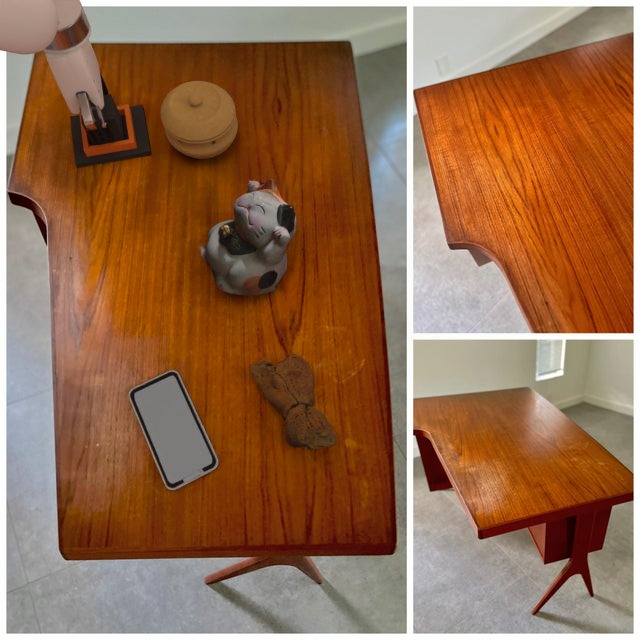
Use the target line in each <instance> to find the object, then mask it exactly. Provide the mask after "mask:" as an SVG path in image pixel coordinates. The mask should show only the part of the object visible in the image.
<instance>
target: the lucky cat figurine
mask: <svg viewBox="0 0 640 640" xmlns="http://www.w3.org/2000/svg"><path fill="white" fill-rule="evenodd" d="M232 208H233V216H234V218H233V219H228V220H224V221H221V222H218V223H216V224H215V225H214V226H213V227H211V229H210V230H209V231H208V233H207V243H206V245H205V246H204V245H200V246H199V250H200V256H201V258H202V260H204V262H206V263H207V264H208V266H209V268H210V270H211V274H212V276H213V280H214V284H215V286H216V287H217V288H218V289H220V290H221V291H222V292H225V293H228V294H230V295H237V296H261V295H265V294H268V293H272V292H274V291H277V289H278V287H279V283H280V281H281V279H282V278H283V277H284V275H285V274H286V271H287V270H288V253H287V248H288V245H289V243H290V242H291V240H292V239H293V238H294V236H295V234H296V231H297V215H296V211H295V206H294V205H290V204H288V203H287V202H286V201H284V199H283V198H282V196H281V193H280V191H279V189H278V185H277V183H276V181H275V180H274V179H273V178H270V179H268V180H266V181H265V182H261V181H257V180H248V184H247V191H246V193H244V194H242V195H241V196H239V197H238V198H237V199H235V200H234V203H233V205H232Z"/></svg>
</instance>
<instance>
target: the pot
mask: <svg viewBox="0 0 640 640" xmlns="http://www.w3.org/2000/svg"><path fill="white" fill-rule="evenodd" d="M160 119H161V123H162V126H163V129H164V134H165V137H166V139H167V141H168V143H170V145H171V146H172V147H173V149H175V150H177V151H178V152H179V153H181V154H182V155H184V156H187V157H190V158H192V159H198V160H208V159H211V158H215V157H218V156H219V155H221V154H223V153H224V152H226V151H227V150H228V149H229V147H230V146H232V145H233V142H234V140H235V138H236V137H237V133H238V129H239V121H238V117H237V110H236V106H235V103H234V99H233V98H232V97H231V95H230V94H229V93H228V92H227V91H226V90H225V89H224V88H222V87H221V86H219V85H217V84H215V83H212V82H210V81H204V80H191V81H187V82H183V83H180V84H179V85H177V86H175V87H174V88H173V89H171V91H169V92H168V93H167V95H166V96H165V97H164V99H163V101H162V103H161V107H160Z"/></svg>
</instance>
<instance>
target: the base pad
mask: <svg viewBox="0 0 640 640" xmlns="http://www.w3.org/2000/svg"><path fill="white" fill-rule="evenodd" d="M116 106H117V109H118V111H119V113H120V116H121V118H122V120H123V126H124V132H125V138H126V140H122V141H117V142H114V143H108V144H102V145H93V144H92V142H91V140H90V138H89V137H88V135H87V133H86V131H85V129H84V127H83V125H82V122H81V113H79V114H74V115H70V116H69V121H70V130H71V139H72V148H73V154H74V155H73V157H74V164H75V167H76V168H77V169H80V168H84V167H85V168H86V167H91V166H97V165H103V164H108V163H113V162H119V161H124V160H130V159H136V158H143V157H149V156H152V155H153V154H152V153H153V152H152V148H151V142H150V137H149V131H148V124H147V119H146V113H145V108H144V106H143V104H136V105H131V106H130V105H129V104H122V105H116Z"/></svg>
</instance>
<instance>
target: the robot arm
mask: <svg viewBox="0 0 640 640" xmlns="http://www.w3.org/2000/svg"><path fill="white" fill-rule="evenodd" d="M91 27H92V26H91V24H90V22H89V18H88V17H87V15H86V12H85V9H84V7H83V5H82V2H81V0H0V51H1V52H6V53H11V54H16V55H17V54H18V55H33V54H34V55H35V54H36V53H37V54H38V53H39V52H42V51H43V52H44V55H45V59H46V60H47V63H48V66H49V68H50V71H51V74H52V75H53V78H54V80H55V82H56V85H57V86H58V88H59V90H60V91H59V92H60V93H61V95H62V98H63V99H64V102H65V103H66V105H67V108H68V109H69V112H70V113H72V114H73V115H80V114H79V113H80V111H81V114H82V117H83V120H84V124H85V126H86V129H87V131H88V132H89V134H90V136H91V138H92V140H93V142H94V144H95V145H102V144H108V143H114V142H116V139H115V136H114V134H113V132H112V130H111V128H110V125H109V123H108V121H107V122H106V121H105V119H104V116H103V113H102V109H103V107H104V97H103V95H108V94H110V91H109V89H108V86H107V84H106V82H105V80H104V77H103V74H102V73H101V71H100V70H101V69H100V66H99V62H98V58H97V56H96V52H95V51H94V48H93V46H92V43H91V41H90V37H91V36H92V35H91V34H92V28H91ZM90 100H91V102H92V103H94V104H95V105H94V106H91V105H90ZM95 110H97V113H98V116H99V119H100V120H96V121H95V119H94V117H93V113H92V111H95Z"/></svg>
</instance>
